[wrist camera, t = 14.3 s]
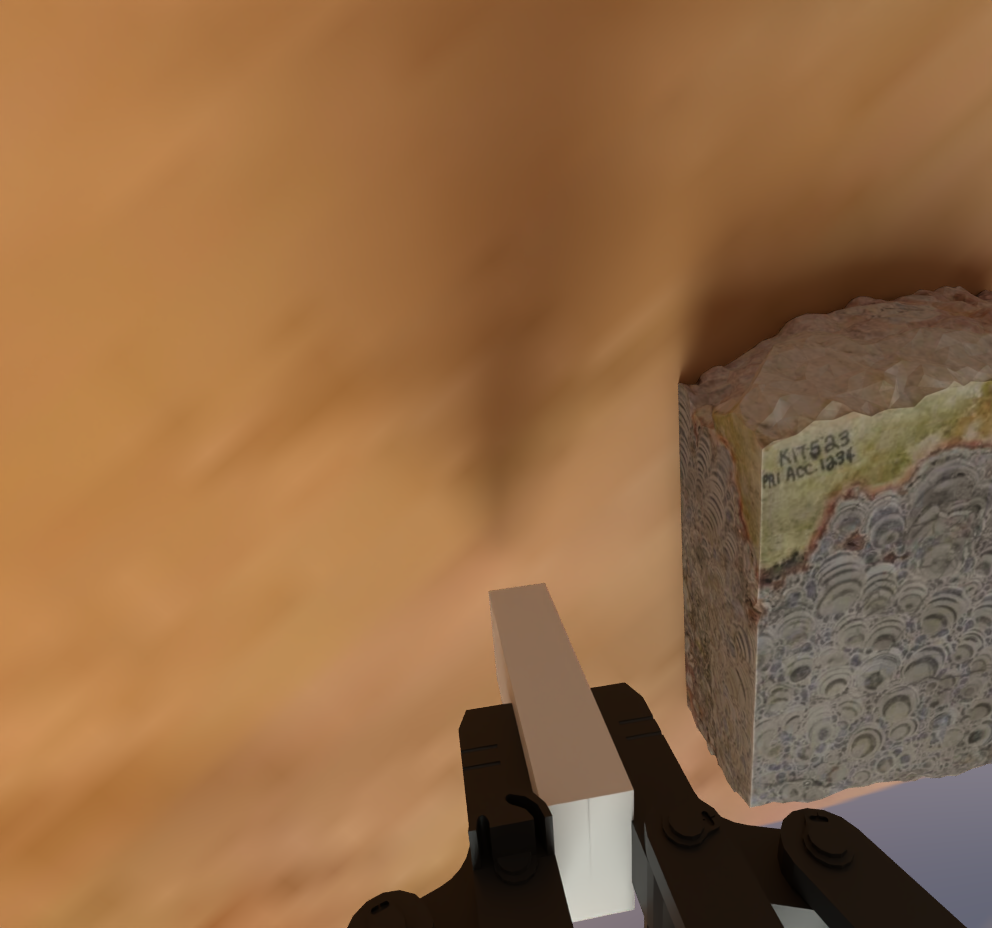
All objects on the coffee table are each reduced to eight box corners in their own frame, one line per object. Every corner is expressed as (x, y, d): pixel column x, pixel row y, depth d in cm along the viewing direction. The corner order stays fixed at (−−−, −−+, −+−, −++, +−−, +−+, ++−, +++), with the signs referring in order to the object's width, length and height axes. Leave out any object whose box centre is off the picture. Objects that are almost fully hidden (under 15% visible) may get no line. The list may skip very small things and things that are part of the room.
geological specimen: (752, 845, 18) (766, 376, 13) (673, 700, 24) (658, 328, 18) (1073, 772, 19) (1229, 291, 13) (923, 646, 25) (986, 270, 19)
